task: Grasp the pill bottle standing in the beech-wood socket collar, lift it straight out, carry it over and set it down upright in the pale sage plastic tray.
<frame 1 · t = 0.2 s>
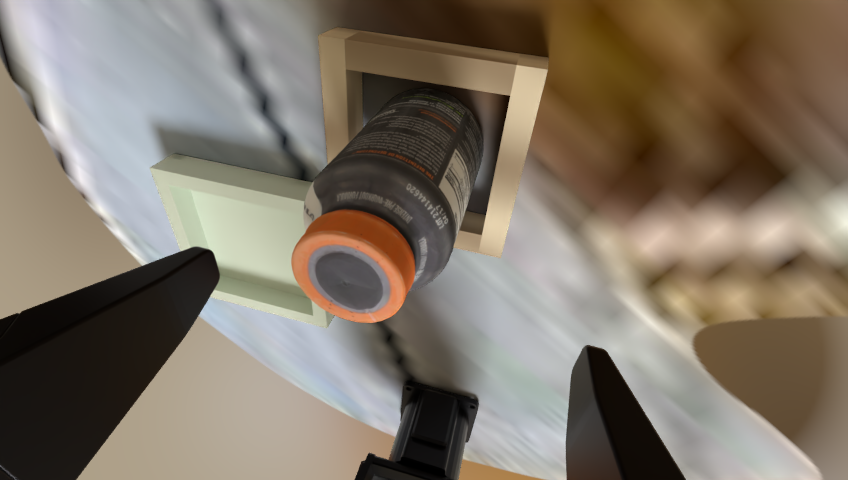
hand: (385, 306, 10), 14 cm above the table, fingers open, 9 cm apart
pill bottle: (430, 141, 22), resting in socket collar
tray: (263, 237, 30), on the table
socket collar: (429, 143, 22), on the table
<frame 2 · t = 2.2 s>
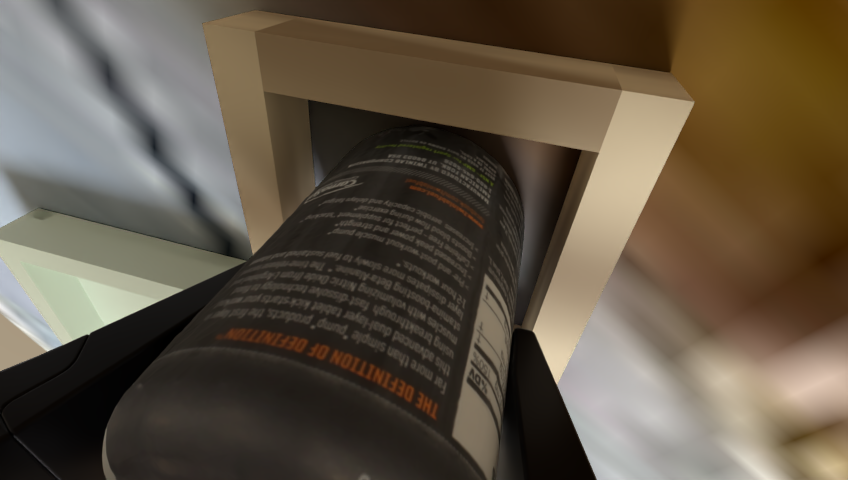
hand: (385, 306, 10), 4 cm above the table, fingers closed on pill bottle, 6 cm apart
pill bottle: (429, 211, 13), resting in socket collar, touching gripper
tray: (184, 325, 20), on the table
socket collar: (427, 214, 13), on the table
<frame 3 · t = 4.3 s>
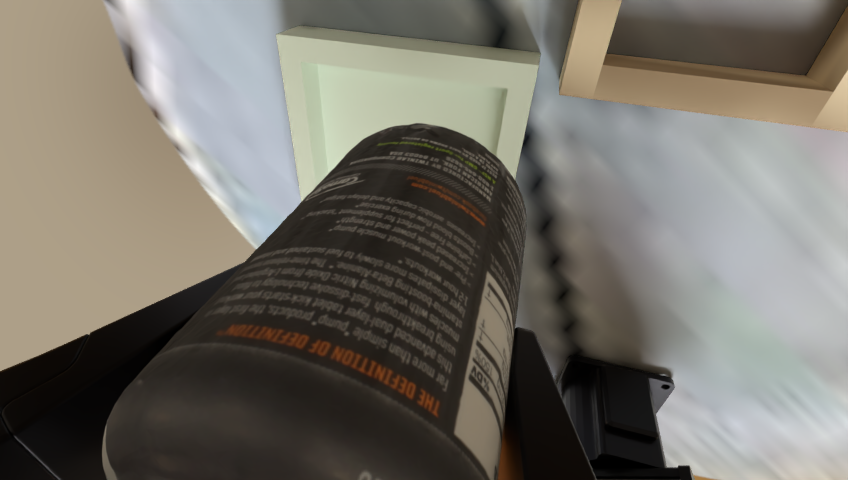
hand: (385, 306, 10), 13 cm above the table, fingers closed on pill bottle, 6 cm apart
pill bottle: (431, 209, 13), point 9 cm above the table, touching gripper
tray: (410, 153, 22), on the table
when the fingers open (5 cm above the table, at t = 6.8 s): pill bottle stays where it is, resting on tray.
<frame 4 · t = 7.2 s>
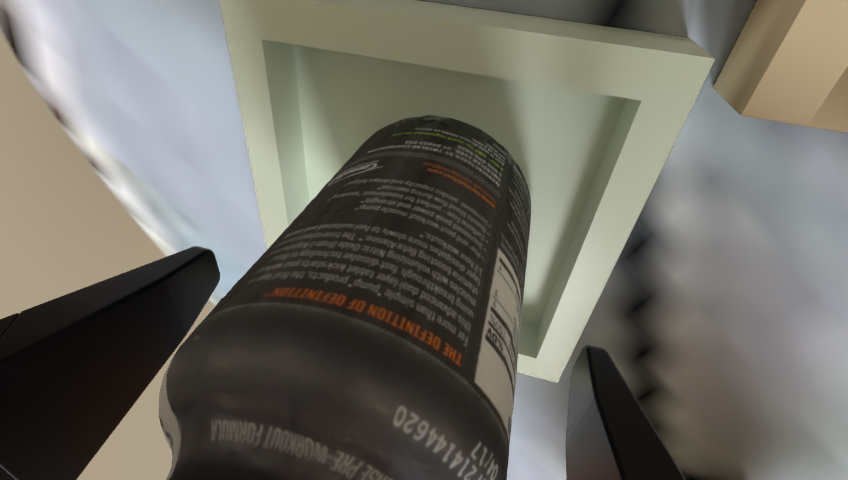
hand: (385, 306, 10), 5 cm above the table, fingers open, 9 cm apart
pill bottle: (440, 198, 14), resting on tray
tray: (438, 191, 14), on the table
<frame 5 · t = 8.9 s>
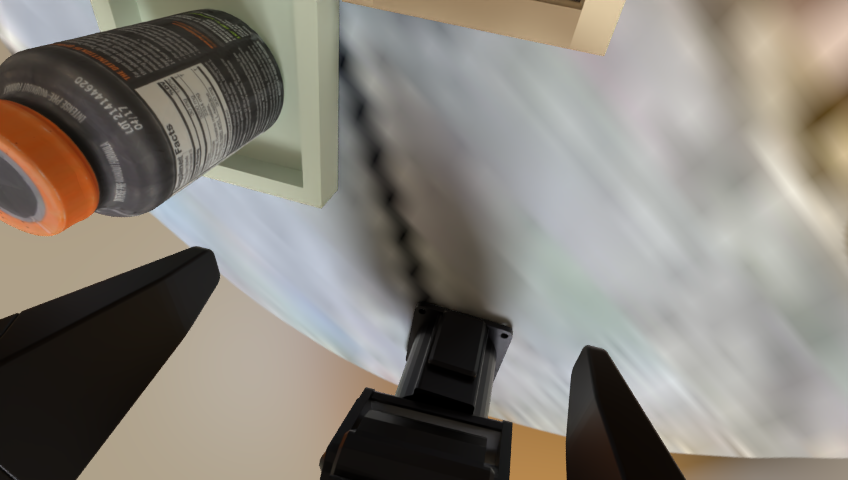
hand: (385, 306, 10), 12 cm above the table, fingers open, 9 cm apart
pill bottle: (235, 74, 21), resting on tray
tray: (237, 71, 21), on the table
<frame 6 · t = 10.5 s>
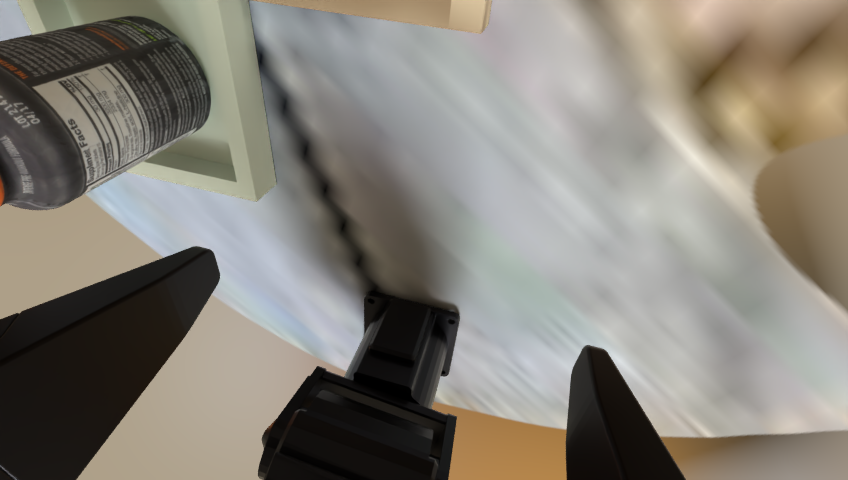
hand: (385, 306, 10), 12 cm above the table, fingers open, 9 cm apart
pill bottle: (166, 77, 22), resting on tray
tray: (169, 74, 22), on the table
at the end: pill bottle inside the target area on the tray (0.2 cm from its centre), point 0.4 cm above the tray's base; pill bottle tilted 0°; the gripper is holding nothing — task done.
